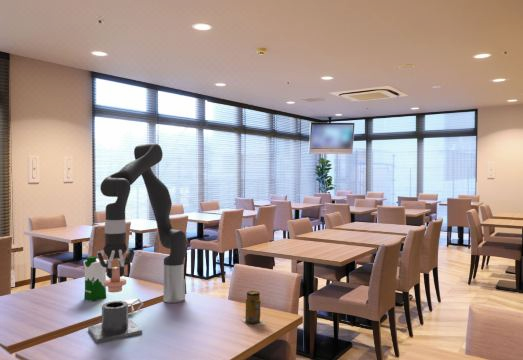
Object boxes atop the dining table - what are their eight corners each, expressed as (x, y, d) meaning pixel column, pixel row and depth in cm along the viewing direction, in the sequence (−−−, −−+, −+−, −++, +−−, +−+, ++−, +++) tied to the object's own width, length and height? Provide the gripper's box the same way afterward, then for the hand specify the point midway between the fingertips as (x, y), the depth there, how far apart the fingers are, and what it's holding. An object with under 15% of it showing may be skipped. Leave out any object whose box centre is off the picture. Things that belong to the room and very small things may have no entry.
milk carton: (81, 299, 199) (81, 256, 198) (97, 294, 206) (97, 253, 206) (92, 302, 194) (93, 259, 193) (109, 297, 202) (109, 255, 201)
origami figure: (127, 318, 174) (127, 306, 174) (113, 315, 178) (113, 303, 178) (148, 310, 185) (148, 299, 185) (133, 307, 189) (133, 296, 188)
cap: (122, 286, 164) (122, 264, 164) (129, 291, 158) (129, 268, 158) (101, 289, 160) (101, 267, 160) (106, 294, 153) (107, 271, 153)
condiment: (256, 317, 177) (257, 289, 177) (266, 324, 170) (266, 294, 169) (240, 320, 174) (241, 291, 174) (249, 327, 167) (249, 296, 166)
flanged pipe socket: (130, 322, 169) (130, 296, 169) (142, 334, 158) (142, 306, 158) (88, 330, 160) (88, 303, 160) (97, 343, 149) (97, 314, 149)
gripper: (131, 228, 165) (130, 272, 166) (93, 231, 157) (93, 277, 158) (137, 231, 159) (137, 276, 160) (98, 234, 151) (98, 281, 152)
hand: (115, 276), depth 159 cm, fingers closed on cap, 3 cm apart
